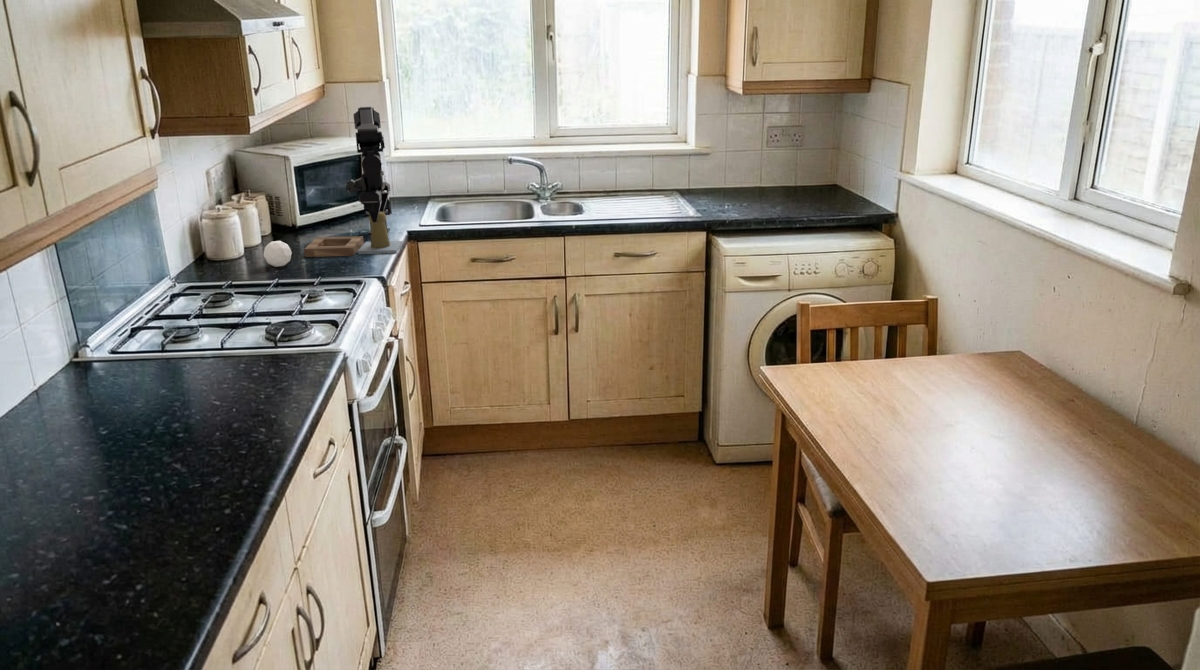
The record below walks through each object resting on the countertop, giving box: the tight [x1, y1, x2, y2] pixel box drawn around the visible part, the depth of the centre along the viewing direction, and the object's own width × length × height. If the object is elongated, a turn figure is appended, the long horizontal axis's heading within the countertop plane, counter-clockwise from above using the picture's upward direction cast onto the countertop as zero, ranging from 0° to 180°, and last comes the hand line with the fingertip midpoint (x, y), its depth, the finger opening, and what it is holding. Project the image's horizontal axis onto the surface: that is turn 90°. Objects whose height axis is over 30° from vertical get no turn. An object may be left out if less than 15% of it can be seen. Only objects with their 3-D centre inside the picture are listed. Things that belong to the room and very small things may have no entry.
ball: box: [263, 240, 292, 268], centre depth 255 cm, size 8×8×8 cm
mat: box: [357, 240, 404, 255], centre depth 273 cm, size 12×12×1 cm
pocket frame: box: [303, 235, 365, 258], centre depth 272 cm, size 15×15×2 cm
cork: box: [368, 211, 390, 248], centre depth 271 cm, size 6×6×11 cm
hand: (377, 219), depth 270 cm, fingers open, 9 cm apart
